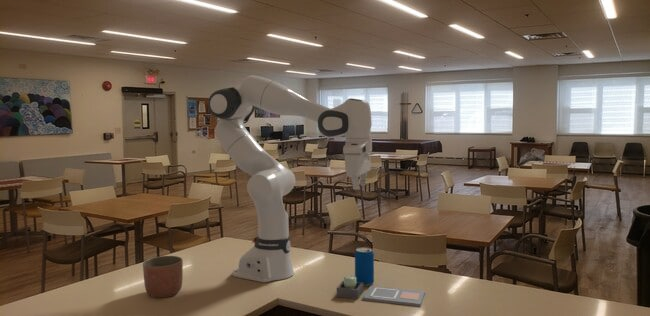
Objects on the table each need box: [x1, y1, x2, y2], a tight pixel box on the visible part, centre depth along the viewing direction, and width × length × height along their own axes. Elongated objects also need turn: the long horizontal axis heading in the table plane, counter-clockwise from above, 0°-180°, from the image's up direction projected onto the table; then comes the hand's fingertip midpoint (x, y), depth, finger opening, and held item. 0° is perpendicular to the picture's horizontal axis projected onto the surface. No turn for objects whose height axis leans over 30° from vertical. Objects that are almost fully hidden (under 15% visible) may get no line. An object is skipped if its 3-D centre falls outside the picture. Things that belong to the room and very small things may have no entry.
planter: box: [142, 255, 184, 299], centre depth 156 cm, size 12×12×11 cm
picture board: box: [362, 285, 426, 307], centre depth 151 cm, size 18×11×1 cm, turn 71°
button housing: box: [336, 280, 364, 300], centre depth 154 cm, size 7×7×3 cm
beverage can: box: [354, 246, 375, 287], centre depth 163 cm, size 6×6×12 cm
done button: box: [343, 275, 356, 289], centre depth 154 cm, size 4×4×4 cm
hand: (359, 187), depth 161 cm, fingers open, 8 cm apart
